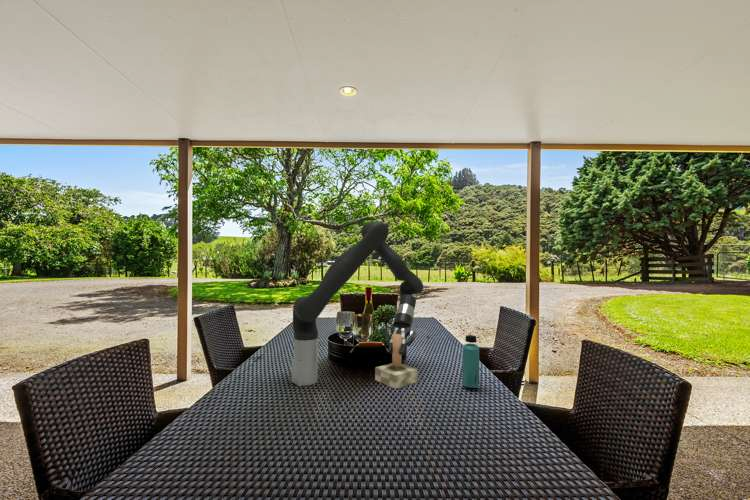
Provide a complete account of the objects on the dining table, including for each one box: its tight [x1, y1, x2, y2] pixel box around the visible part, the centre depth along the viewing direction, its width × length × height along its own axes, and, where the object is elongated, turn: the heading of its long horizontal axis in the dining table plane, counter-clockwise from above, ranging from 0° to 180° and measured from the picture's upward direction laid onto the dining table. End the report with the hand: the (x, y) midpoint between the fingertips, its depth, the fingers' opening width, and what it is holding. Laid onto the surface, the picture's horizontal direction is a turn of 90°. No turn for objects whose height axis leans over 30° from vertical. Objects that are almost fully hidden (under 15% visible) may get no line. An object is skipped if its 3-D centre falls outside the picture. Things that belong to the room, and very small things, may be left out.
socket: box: [374, 362, 419, 390], centre depth 147 cm, size 12×12×5 cm
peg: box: [391, 334, 402, 366], centre depth 147 cm, size 4×4×12 cm
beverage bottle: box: [461, 334, 481, 388], centre depth 140 cm, size 6×7×20 cm
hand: (395, 353), depth 145 cm, fingers closed on peg, 3 cm apart
